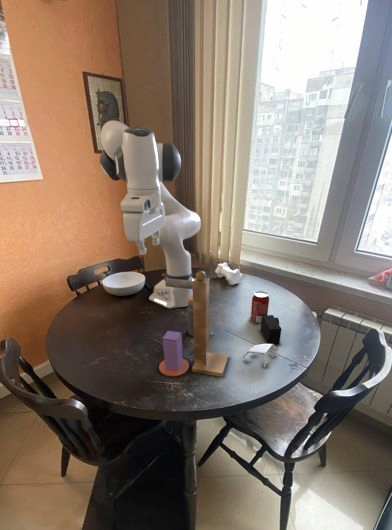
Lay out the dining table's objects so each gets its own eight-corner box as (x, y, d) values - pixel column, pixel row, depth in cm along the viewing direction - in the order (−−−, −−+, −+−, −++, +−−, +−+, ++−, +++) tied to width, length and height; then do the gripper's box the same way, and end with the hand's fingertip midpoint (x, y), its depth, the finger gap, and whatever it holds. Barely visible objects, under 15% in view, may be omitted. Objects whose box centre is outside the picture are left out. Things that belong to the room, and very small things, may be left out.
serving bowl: (121, 281, 165) (120, 269, 161) (154, 287, 157) (153, 275, 153) (95, 296, 149) (92, 283, 145) (130, 304, 141) (127, 290, 137)
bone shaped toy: (242, 283, 159) (243, 269, 154) (228, 287, 156) (229, 272, 151) (227, 274, 170) (227, 260, 166) (214, 277, 167) (214, 263, 163)
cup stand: (167, 367, 100) (159, 274, 83) (177, 350, 108) (171, 262, 91) (222, 376, 96) (225, 280, 78) (228, 358, 104) (232, 267, 86)
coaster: (153, 370, 99) (152, 369, 99) (170, 354, 106) (170, 353, 106) (178, 380, 95) (178, 379, 94) (194, 363, 102) (194, 362, 102)
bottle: (192, 337, 115) (191, 302, 107) (185, 330, 120) (184, 296, 112) (205, 333, 117) (205, 299, 109) (198, 327, 122) (198, 293, 114)
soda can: (266, 325, 122) (269, 298, 116) (249, 323, 124) (252, 297, 117) (266, 317, 128) (269, 291, 122) (250, 315, 129) (252, 290, 123)
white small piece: (260, 373, 97) (261, 360, 94) (241, 361, 102) (242, 349, 100) (283, 358, 103) (285, 346, 101) (264, 347, 109) (265, 336, 106)
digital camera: (282, 344, 110) (285, 328, 106) (268, 345, 110) (270, 329, 106) (273, 330, 119) (275, 314, 115) (260, 330, 119) (262, 315, 115)
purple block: (162, 338, 93) (176, 340, 91) (167, 330, 96) (181, 332, 95) (165, 368, 99) (178, 371, 98) (170, 360, 103) (182, 362, 102)
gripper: (149, 193, 91) (153, 239, 99) (116, 205, 75) (124, 259, 82) (169, 194, 90) (171, 240, 97) (139, 206, 73) (145, 261, 81)
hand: (149, 249), depth 90 cm, fingers open, 8 cm apart
